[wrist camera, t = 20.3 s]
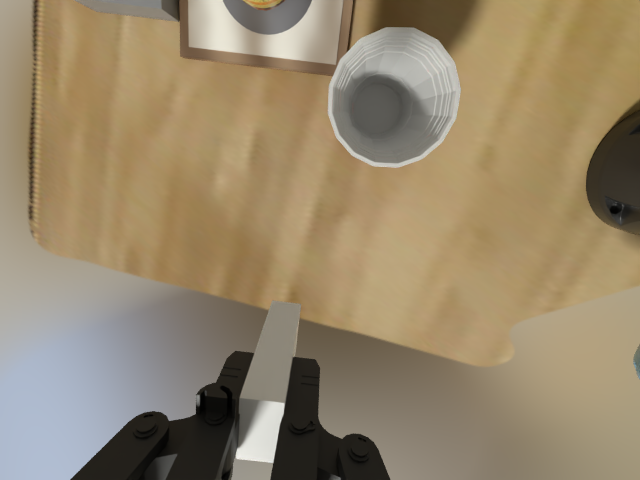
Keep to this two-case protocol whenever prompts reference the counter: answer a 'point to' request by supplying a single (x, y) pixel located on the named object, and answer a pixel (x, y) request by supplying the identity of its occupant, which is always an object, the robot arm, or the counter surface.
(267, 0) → the sauce bottle
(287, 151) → the counter surface
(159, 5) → the button housing
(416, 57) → the plastic cup
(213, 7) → the board
